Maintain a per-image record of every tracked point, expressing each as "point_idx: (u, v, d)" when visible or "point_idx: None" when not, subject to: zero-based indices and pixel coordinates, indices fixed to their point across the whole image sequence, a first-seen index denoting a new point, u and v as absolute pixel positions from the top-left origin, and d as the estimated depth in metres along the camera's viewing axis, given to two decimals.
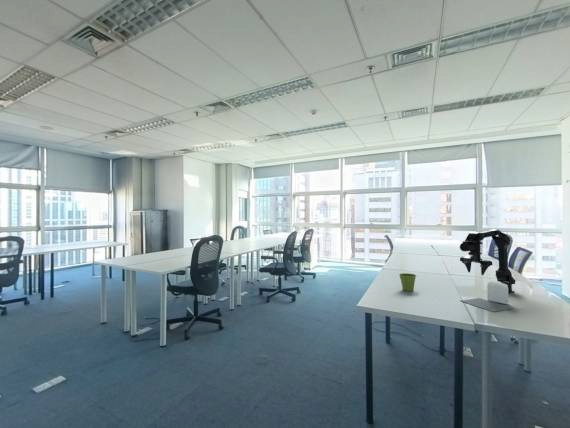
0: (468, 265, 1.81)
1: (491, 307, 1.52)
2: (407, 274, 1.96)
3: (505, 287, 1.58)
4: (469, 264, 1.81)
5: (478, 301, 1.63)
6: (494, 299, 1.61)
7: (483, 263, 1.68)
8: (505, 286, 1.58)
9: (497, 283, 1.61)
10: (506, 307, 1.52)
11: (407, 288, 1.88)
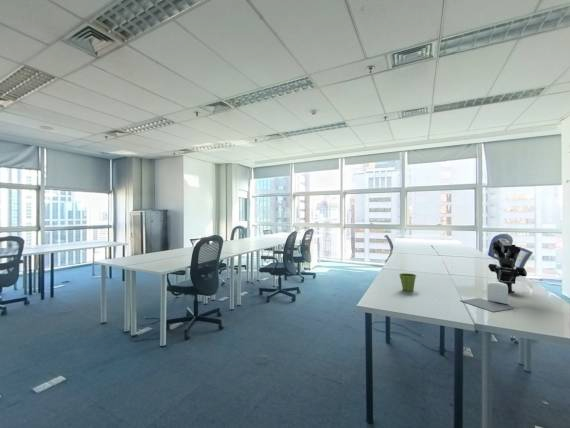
0: (499, 273, 1.71)
1: (491, 307, 1.52)
2: (407, 274, 1.96)
3: (505, 286, 1.58)
4: (499, 273, 1.71)
5: (478, 301, 1.63)
6: (494, 298, 1.61)
7: (520, 268, 1.62)
8: (505, 286, 1.58)
9: (497, 283, 1.61)
10: (506, 307, 1.52)
11: (407, 288, 1.88)
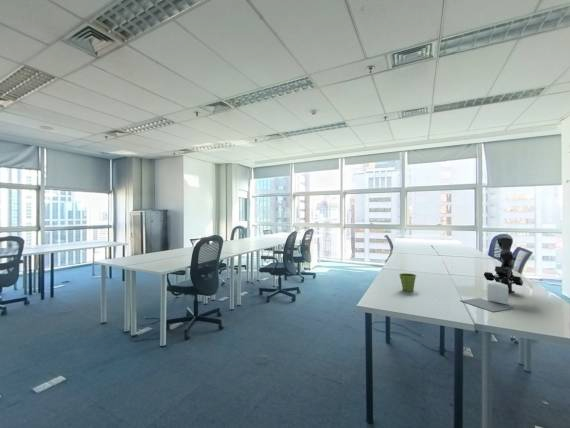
0: (499, 282, 1.65)
1: (491, 307, 1.52)
2: (407, 274, 1.96)
3: (505, 287, 1.56)
4: (500, 282, 1.65)
5: (478, 301, 1.63)
6: (494, 299, 1.61)
7: (516, 277, 1.58)
8: (505, 287, 1.57)
9: (497, 284, 1.60)
10: (506, 307, 1.52)
11: (407, 288, 1.88)
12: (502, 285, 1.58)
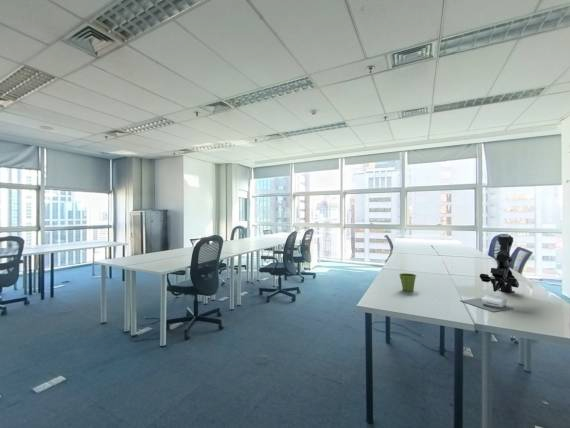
0: (495, 284, 1.62)
1: (491, 307, 1.52)
2: (407, 274, 1.96)
3: (500, 307, 1.51)
4: (496, 284, 1.62)
5: (478, 301, 1.63)
6: None
7: (512, 279, 1.55)
8: (500, 307, 1.50)
9: (491, 305, 1.53)
10: (506, 307, 1.52)
11: (407, 288, 1.88)
12: (496, 306, 1.51)
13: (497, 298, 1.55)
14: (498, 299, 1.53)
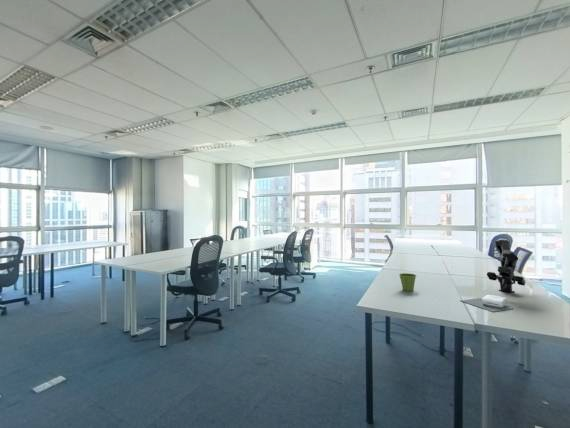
0: (502, 282, 1.67)
1: (491, 307, 1.52)
2: (407, 274, 1.96)
3: (500, 307, 1.51)
4: (503, 282, 1.68)
5: (478, 301, 1.63)
6: None
7: (519, 277, 1.60)
8: (500, 307, 1.50)
9: (491, 305, 1.53)
10: (506, 307, 1.52)
11: (407, 288, 1.88)
12: (496, 306, 1.51)
13: (497, 298, 1.55)
14: (498, 299, 1.53)
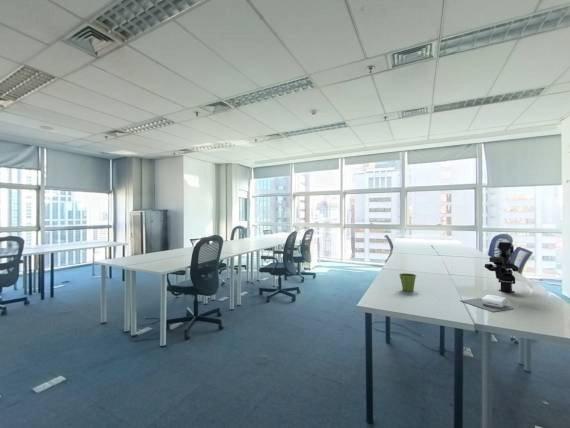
0: None
1: (491, 307, 1.52)
2: (407, 274, 1.96)
3: (500, 307, 1.51)
4: None
5: (478, 301, 1.63)
6: None
7: (509, 264, 1.67)
8: (500, 307, 1.50)
9: (491, 305, 1.53)
10: (506, 307, 1.52)
11: (407, 288, 1.88)
12: (496, 306, 1.51)
13: (497, 298, 1.55)
14: (498, 299, 1.53)
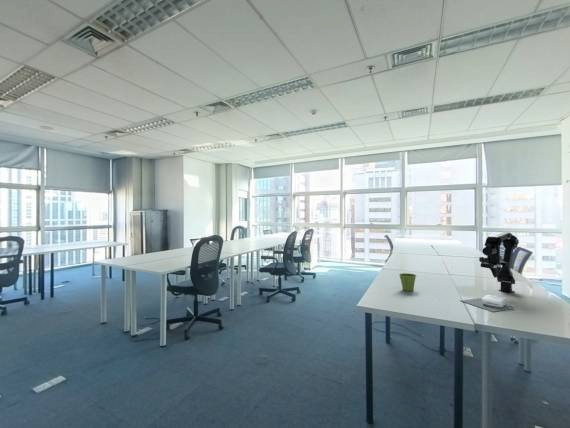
0: None
1: (491, 307, 1.52)
2: (407, 274, 1.96)
3: (500, 307, 1.51)
4: None
5: (478, 301, 1.63)
6: None
7: None
8: (500, 307, 1.50)
9: (491, 305, 1.53)
10: (506, 307, 1.52)
11: (407, 288, 1.88)
12: (496, 306, 1.51)
13: (497, 298, 1.55)
14: (498, 299, 1.53)
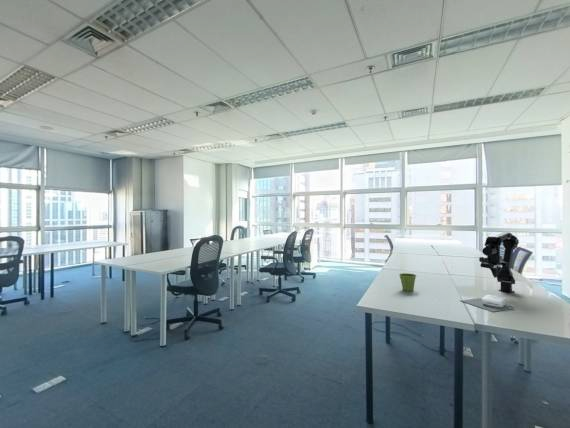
0: None
1: (491, 307, 1.52)
2: (407, 274, 1.96)
3: (500, 307, 1.51)
4: None
5: (478, 301, 1.63)
6: None
7: None
8: (500, 307, 1.50)
9: (491, 305, 1.53)
10: (506, 307, 1.52)
11: (407, 288, 1.88)
12: (496, 306, 1.51)
13: (497, 298, 1.55)
14: (498, 299, 1.53)
